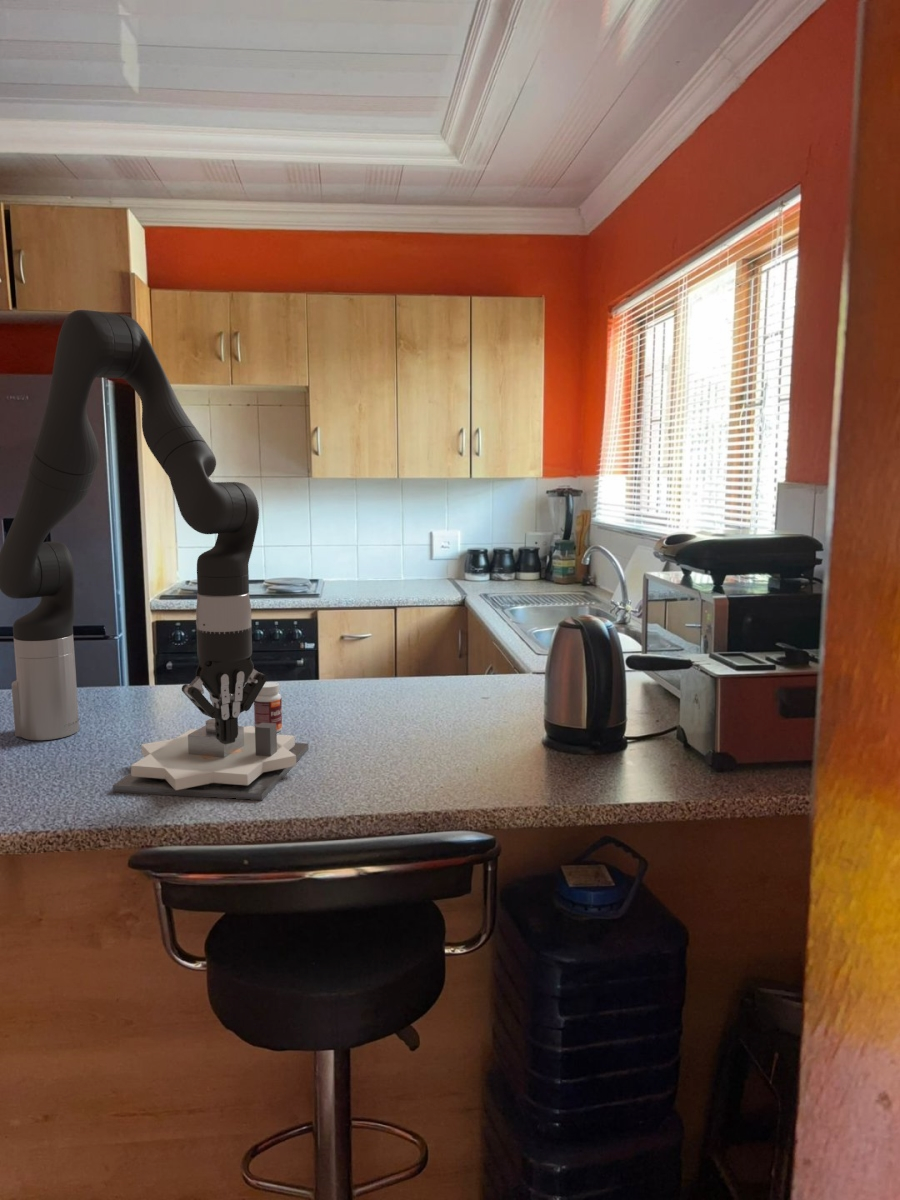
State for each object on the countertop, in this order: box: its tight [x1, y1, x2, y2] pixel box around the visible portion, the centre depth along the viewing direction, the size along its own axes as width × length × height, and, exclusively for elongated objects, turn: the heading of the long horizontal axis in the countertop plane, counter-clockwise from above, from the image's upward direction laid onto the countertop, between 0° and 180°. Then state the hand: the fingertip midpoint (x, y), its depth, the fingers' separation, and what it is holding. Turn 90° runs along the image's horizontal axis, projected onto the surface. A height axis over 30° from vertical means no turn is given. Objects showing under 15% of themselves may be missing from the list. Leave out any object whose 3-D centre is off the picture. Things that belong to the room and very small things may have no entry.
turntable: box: [130, 723, 297, 790], centre depth 127 cm, size 26×26×6 cm
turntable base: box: [112, 742, 309, 801], centre depth 128 cm, size 22×22×1 cm
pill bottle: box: [253, 681, 283, 733], centre depth 147 cm, size 5×5×8 cm
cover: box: [188, 718, 245, 758], centre depth 127 cm, size 6×6×4 cm
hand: (227, 742), depth 120 cm, fingers closed
